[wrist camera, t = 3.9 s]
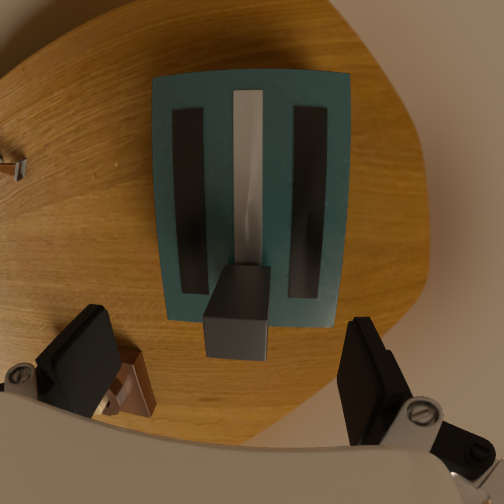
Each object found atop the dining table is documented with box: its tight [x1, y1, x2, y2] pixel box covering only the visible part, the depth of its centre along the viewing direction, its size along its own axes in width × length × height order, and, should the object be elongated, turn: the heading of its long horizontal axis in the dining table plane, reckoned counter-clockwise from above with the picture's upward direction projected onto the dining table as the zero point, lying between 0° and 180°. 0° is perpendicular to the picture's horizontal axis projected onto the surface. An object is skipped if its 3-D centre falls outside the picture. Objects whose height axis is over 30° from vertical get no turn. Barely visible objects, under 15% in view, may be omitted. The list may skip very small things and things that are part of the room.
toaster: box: [152, 68, 351, 327], centre depth 18 cm, size 10×14×6 cm
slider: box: [202, 265, 271, 361], centre depth 13 cm, size 2×2×5 cm
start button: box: [94, 394, 108, 415], centre depth 24 cm, size 3×3×2 cm
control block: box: [101, 347, 156, 418], centre depth 26 cm, size 10×8×4 cm
